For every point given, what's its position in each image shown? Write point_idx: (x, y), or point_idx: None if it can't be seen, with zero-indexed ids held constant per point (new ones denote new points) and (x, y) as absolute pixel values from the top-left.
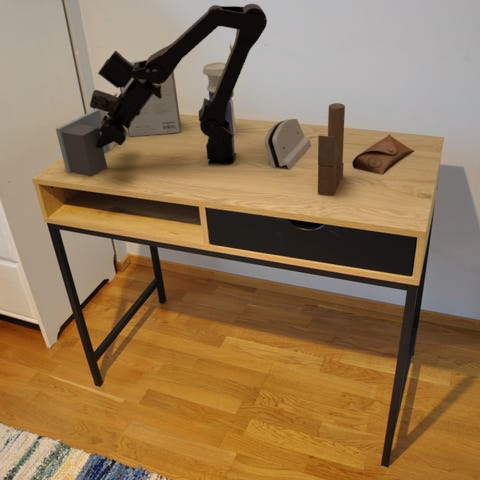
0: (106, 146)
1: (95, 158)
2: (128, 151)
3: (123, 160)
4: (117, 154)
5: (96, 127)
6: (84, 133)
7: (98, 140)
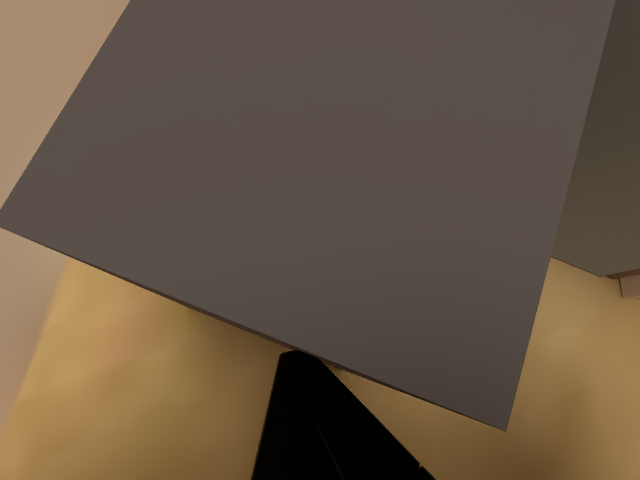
0: (634, 270)
1: (249, 331)
2: (625, 444)
3: (468, 462)
4: (564, 372)
5: (492, 371)
6: (137, 219)
7: (296, 408)
